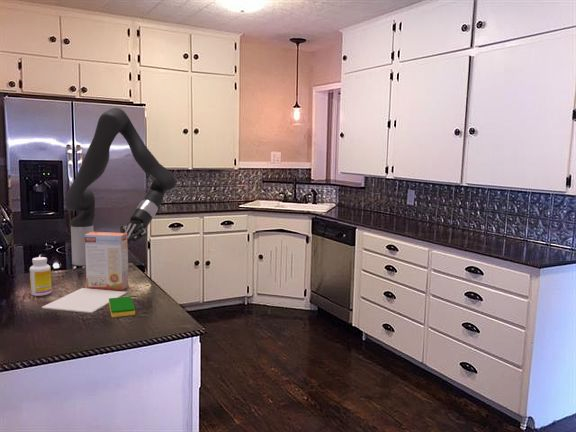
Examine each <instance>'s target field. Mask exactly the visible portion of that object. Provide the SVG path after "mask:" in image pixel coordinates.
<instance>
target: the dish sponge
mask: <svg viewBox="0 0 576 432" xmlns="http://www.w3.org/2000/svg"><path fill="white" fill-rule="evenodd" d="M108 305H109V306H108V307H109V310H110V311H109V312H110V317H111V318H119V317H129V316H135V315H136V308H135V305H134V303H133V299H132V296H121V297H119V298H110V299H109V304H108Z"/></svg>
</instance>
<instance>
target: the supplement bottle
mask: <svg viewBox="0 0 576 432" xmlns="http://www.w3.org/2000/svg"><path fill="white" fill-rule="evenodd" d="M31 262H32V265H31V266H30V267H29V280H30V281H29V282H30V283H29V284H30V285H29V286H30V294H31V296H36V297H42V296H46V295H49V294H51V293H52V292H53V291H52V290H53V287H52V270H51V266H50V265H49V264H48V263H47V262H48V258H47V257H44V256H39V257H38V256H37V257H33V258H32V260H31Z"/></svg>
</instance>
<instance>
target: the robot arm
mask: <svg viewBox="0 0 576 432" xmlns="http://www.w3.org/2000/svg"><path fill="white" fill-rule="evenodd" d="M118 134H120V135H122V137H123V138H124V139H125V141H126V143H127V144H128V147H129V149H130V152H131V154H132V156H133V159H134V161H135V162H136V163H137V165H138V167H140V169H142V171H143V172H144V173H145V174H146V175H147V176H152V177H153V178H155V179H154V180H153V181H152V183H151V185H150V187H149V189H148V191H147V193H145V196H144V197H143V199H142V200H141V202H139V204H138V205H137V207H136V208H135V210H134V211H133V212H132V214H131V215H130V219H129V221H128V223H126V225H124V226H123V225H121V226H120V228H119V230H120V231H119V233H127V243H128V246H129V245H130V244H131V243H132V242H134V243H135V242H137V241H138V240H140V239H141V238H143V237H144V236H146V235H147V231H146V230H145V229H146V228H148V226H149V224H150V223H151V222H152V221H153V219H154V217H155V216H156V214H157V211H158V209H159V208H160V207H161V205H162V204H163V202H164V196H165V194H166V193H167V192H168V191H171V190H173V189H174V188H175V187H176V185H177V182H176V178H175V176H174V174H173V173H172V172H171V171H170V170H169V169H167V168H166V167H165V166H164V165H162V164H161V163H160V162H159V161H158V160H157V158H156V157H155V156H154V155H153V153H152V152H151V151H150V150H149V148H148V147H147V145H146V144H145V142H144V141H143V139H142V138H141V136H140V134H139V133H138V131H137V129H136V128H135V126H134V124H133V123H132V120H130V118H129V115H128V114H127V113H126V112H125V111H124V110H123V109H122V108H120V107H112V108H110V109H108V110H107V111H105V112H103V113H102V114H101V115H100V116H99V118H98V120H97V125H96V128H95V132H94V135H93V137H92V140H91V142H90V144H89V146H88V149H87V151H86V153H85V155H84V157H83V159H82V162H81V165H80V168H79V170H78V172H77V173H76V176H75V177H74V180H73V182H72V183H71V185H70V187H69V188H68V190H67V192H66V195H65V199H64V202H65V208H66V209H68V210H69V211H71V212H72V211H73V212H77V211H78V212H79V211H80V212H79V214H78V215H77V216H75V217H73V218H72V219H71V220H70V235H71V237H70V238H71V244H70V245H71V264H72V265H73V266H80V267H81V266H83V267H84V266H86V254H85V234H87V233H90V232H95V231H94V222H95V221H94V220H95V216H96V215H95V214H96V213H95V211H96V210H95V209H96V199H95V194H94V192H93V191H92V190H91V189H90V188H89V187H90V186H91V185H92V184H93V183H95V182H97V180H98V179H100V177H102V175H103V174H104V173H105V170H106V168H107V167H108V166H107V165H108V163H109V161H110V150H111V149H110V148H111V146H112V144H113V142H114V140H115V139H116V137H117V135H118ZM88 188H89V189H88Z"/></svg>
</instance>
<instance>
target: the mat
mask: <svg viewBox="0 0 576 432" xmlns="http://www.w3.org/2000/svg"><path fill="white" fill-rule="evenodd" d="M127 293H128V292H127V291H123V290H105V289H88V288H87V287H85V288H84V287H81V288H80V289H79V288H78V289H77V290H75V291H73V292H71V293H69V294H65V295H64V296H61V297H60V298H57V299H56V300H53V301H51V302H49V303H47V304H45V305H43V306H41V309H45V310H46V309H47V310H56V311H67V312H76V313H86V314H87V313H88V314H93V313H95V312H96V311H98V310H100V309H102V308H103V307H106V306H107V305H109V299H110V298H119V297H124V295H126V294H127Z"/></svg>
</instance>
